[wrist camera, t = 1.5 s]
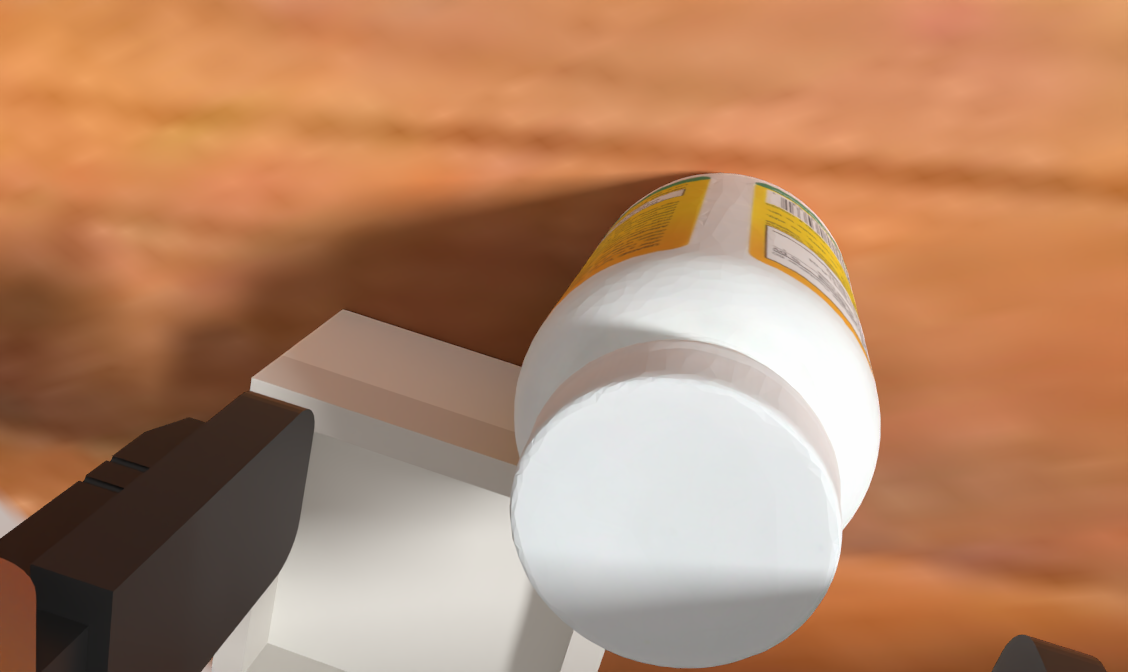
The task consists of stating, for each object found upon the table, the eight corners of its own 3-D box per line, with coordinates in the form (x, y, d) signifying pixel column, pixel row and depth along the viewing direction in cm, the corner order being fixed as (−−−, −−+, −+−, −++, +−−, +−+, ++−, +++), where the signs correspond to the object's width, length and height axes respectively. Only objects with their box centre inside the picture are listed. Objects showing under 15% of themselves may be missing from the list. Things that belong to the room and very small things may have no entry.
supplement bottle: (872, 187, 19) (968, 364, 10) (818, 429, 21) (858, 759, 12) (604, 151, 19) (469, 284, 11) (577, 387, 21) (444, 666, 12)
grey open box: (673, 415, 21) (652, 511, 17) (582, 683, 24) (547, 816, 20) (342, 308, 22) (252, 377, 18) (295, 582, 25) (208, 691, 21)
